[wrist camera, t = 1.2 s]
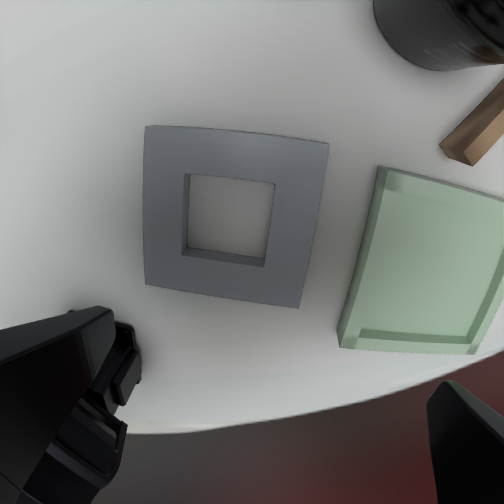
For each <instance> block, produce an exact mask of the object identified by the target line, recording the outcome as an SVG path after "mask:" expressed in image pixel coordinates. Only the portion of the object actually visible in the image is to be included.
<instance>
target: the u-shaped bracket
mask: <svg viewBox="0 0 504 504" xmlns="http://www.w3.org/2000/svg"><path fill="white" fill-rule="evenodd" d="M503 134H504V79H503V80H502V81H501V82H500V83H499V84H498V85H497V86H496V87H495V89H494V90H493V91H492V92H491V93H490V94H489V95H488V96H487V97H486V98H485V99H484V100H483V101H482V102H481V103H480V104H479V105H478V106H477V107H476V109H475V110H474V111H473V112H472V113H471V114H470V115H469V116H468V117H467V118H466V119H465V120H464V121H463V122H462V123H461V124H460V125H459V126H458V127H457V128H456V129H455V130H454V131H453V132H452V133H451V134H450V135H449V136H448V137H447V138H446V139H445V140H444V141H443V142H442V143H441V144H440V147H441V148H442V149H443V151H444V152H445V154H446V155H447V156H448V158H451V159H453V160H456V161H459V162H462V163H464V164H467V165H470V166H472V167H473V166H474V165H475V164H476V163H477V162H478V161H479V160H480V159H481V158H482V156H483V155H484V154H485V153H486V152H487V151H488V150H489V149H490V148H491V147H492V146H493V145H494V144H495V142H496V141H497V140H498V139H499V138H500V137H501V136H502V135H503Z"/></svg>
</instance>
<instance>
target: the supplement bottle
mask: <svg viewBox="0 0 504 504" xmlns="http://www.w3.org/2000/svg"><path fill="white" fill-rule="evenodd" d="M374 8H375V14H376V18H377V21H378V24H379V26H380V28H381V30H382V32H383V34H384V35H385V37H386V38H387V40H388V41H389V42H390V43H391V45H392V46H393V47H394V48H395V49H396V50H397V51H398V52H399V53H400V54H402V55H403V56H404V57H405V58H407V59H408V60H410V61H412V62H413V63H415V64H417V65H420V66H422V67H425V68H428V69H431V70H438V71H448V70H457V69H464V68H471V67H479V66H487V65H496V64H504V0H374Z"/></svg>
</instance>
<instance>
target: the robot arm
mask: <svg viewBox="0 0 504 504" xmlns="http://www.w3.org/2000/svg"><path fill="white" fill-rule="evenodd" d="M127 331H128V332H129V333H128V332H127ZM141 373H142V372H141V365H140V359H139V353H138V351H137V350H136V343H135V336H134V330H133V329H132V327H130V326H128V325H124V324H120V323H116V322H114V314H113V311H112V310H111V309H108V308H105V307H103V306H95V307H91V308H87V309H83V310H79V311H75V312H74V311H68V312H67V313H66V314H63V315H59V316H55V317H51V318H47V319H43V320H39V321H35V322H30V323H26V324H22V325H18V326H14V327H10V328H6V329H1V330H0V504H91V502H92V500H93V499H94V497H95V496H96V494H97V493H98V492H99V490H100V489H102V488H104V487H105V486H106V485H108V484H109V483H110V481H111V480H112V479H113V478H114V476H115V474H116V473H117V471H118V468H119V466H120V462H121V457H122V452H123V446H124V441H125V436H126V432H127V427H128V425H127V424H126V423H124V422H123V421H120V420H119V419H117V418H116V417H115V416H114V414H115V412H116V410H117V408H118V406H119V405H120V406H124V405H126V403H127V401H128V399H129V397H130V395H131V393H132V391H133V389H134V387H135V385H136V384H139V383H140V381H141ZM426 412H427V423H428V435H429V446H430V454H431V459H432V466H433V472H434V478H435V486H436V493H437V501H438V504H504V417H502V416H501V415H500V414H498V413H497V412H496V411H494V410H493V409H492V408H490V407H489V406H487V405H486V404H485V403H483V402H482V401H481V400H479V399H478V398H477V397H475V396H474V395H473V394H471V393H470V392H469V391H467V390H466V389H464V388H463V387H462V386H460V385H459V384H458V383H456V382H454V381H442V382H441V383H440V384H439V385H438V387H437V388H436V389H435V391H434V392H433V393H432V394H431V396H430V397H429V398H428V401H427V404H426Z"/></svg>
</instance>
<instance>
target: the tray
mask: <svg viewBox="0 0 504 504" xmlns="http://www.w3.org/2000/svg"><path fill="white" fill-rule="evenodd" d="M503 297H504V200H503V199H500V198H497V197H494V196H491V195H488V194H485V193H481V192H478V191H475V190H472V189H468V188H465V187H462V186H458V185H455V184H451V183H448V182H444V181H440V180H437V179H433V178H429V177H425V176H421V175H417V174H413V173H409V172H405V171H401V170H396V169H392V168H387V167H383V166H379V167H378V172H377V177H376V182H375V187H374V192H373V197H372V201H371V206H370V210H369V215H368V219H367V223H366V228H365V232H364V236H363V240H362V244H361V248H360V252H359V256H358V260H357V263H356V267H355V271H354V275H353V278H352V282H351V285H350V289H349V292H348V296H347V299H346V303H345V306H344V309H343V313H342V316H341V319H340V322H339V325H338V329H337V336H338V342H339V348H348V349H359V350H372V351H387V352H404V353H426V354H475V353H476V351H477V349H478V347H479V345H480V344H481V342H482V340H483V338H484V336H485V334H486V332H487V330H488V328H489V327H490V325H491V323H492V321H493V319H494V316H495V314H496V312H497V310H498V308H499V306H500V304H501V302H502V299H503Z"/></svg>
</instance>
